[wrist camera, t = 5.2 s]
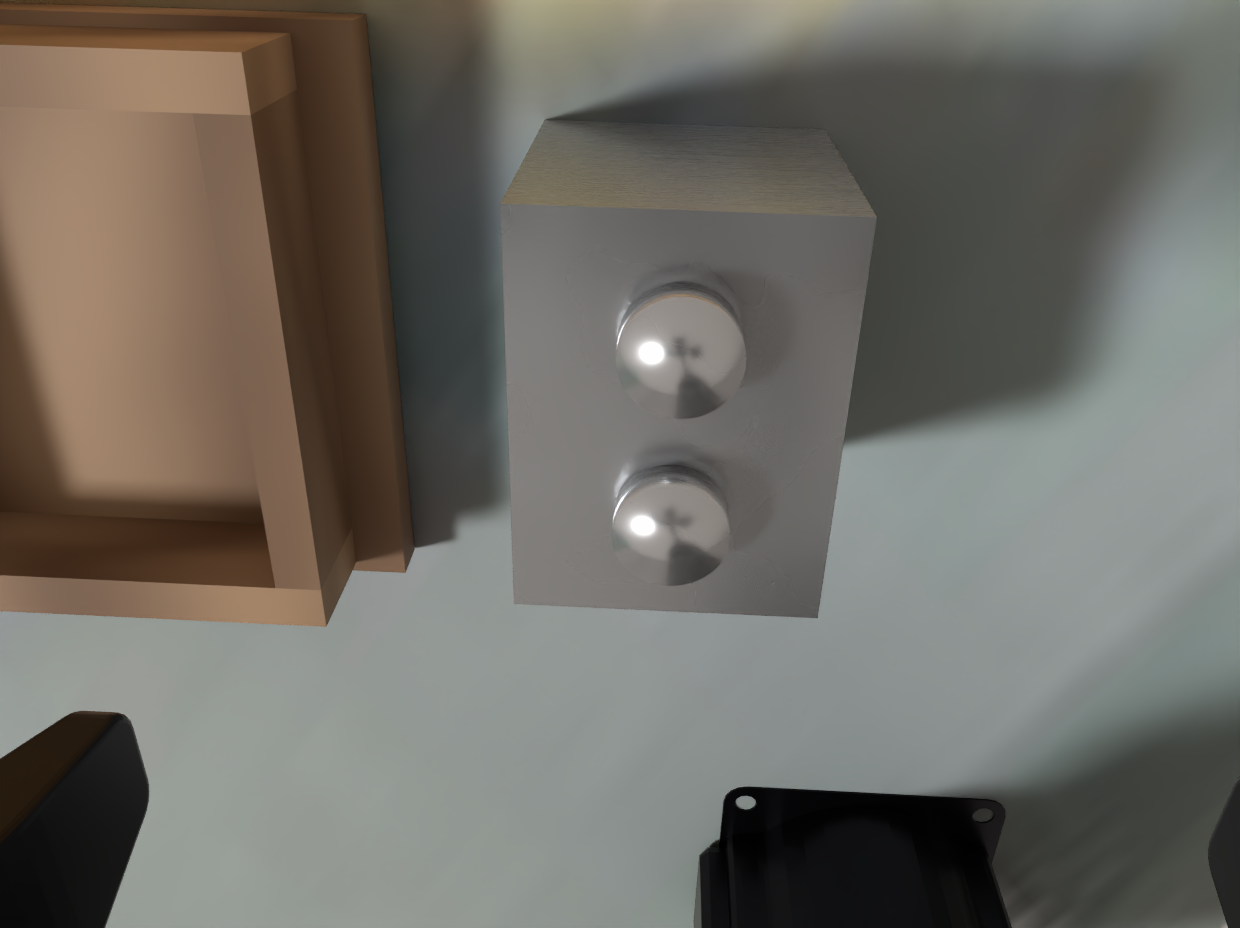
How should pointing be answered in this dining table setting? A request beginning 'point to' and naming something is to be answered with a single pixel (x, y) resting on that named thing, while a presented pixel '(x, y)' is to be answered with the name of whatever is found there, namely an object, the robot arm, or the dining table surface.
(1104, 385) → the dining table surface
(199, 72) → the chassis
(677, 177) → the block
